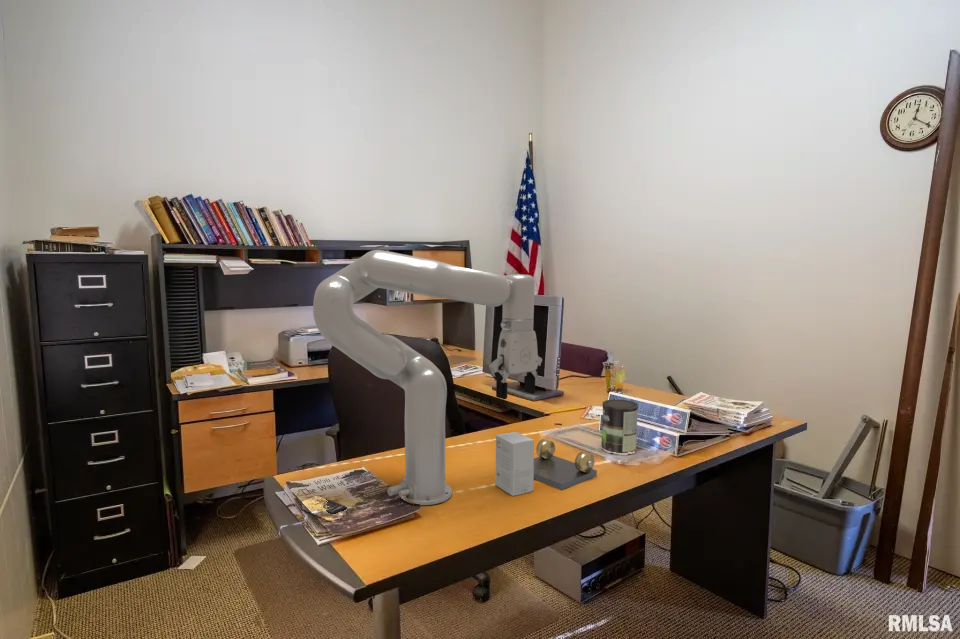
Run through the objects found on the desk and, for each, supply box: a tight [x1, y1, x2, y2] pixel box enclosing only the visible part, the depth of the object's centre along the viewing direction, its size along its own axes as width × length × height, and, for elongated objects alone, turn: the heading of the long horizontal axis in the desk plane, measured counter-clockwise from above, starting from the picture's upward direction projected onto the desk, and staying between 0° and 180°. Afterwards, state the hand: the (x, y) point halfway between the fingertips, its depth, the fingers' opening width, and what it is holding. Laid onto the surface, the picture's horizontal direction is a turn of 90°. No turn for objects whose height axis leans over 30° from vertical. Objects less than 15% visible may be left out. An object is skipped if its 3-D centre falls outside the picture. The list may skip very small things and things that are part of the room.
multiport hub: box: [326, 498, 348, 514], centre depth 127 cm, size 4×11×2 cm, turn 53°
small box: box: [494, 431, 535, 497], centre depth 140 cm, size 8×6×13 cm
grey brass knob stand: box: [534, 438, 598, 491], centre depth 150 cm, size 14×18×6 cm
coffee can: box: [601, 398, 639, 453], centre depth 169 cm, size 10×10×14 cm
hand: (515, 395), depth 139 cm, fingers open, 9 cm apart
